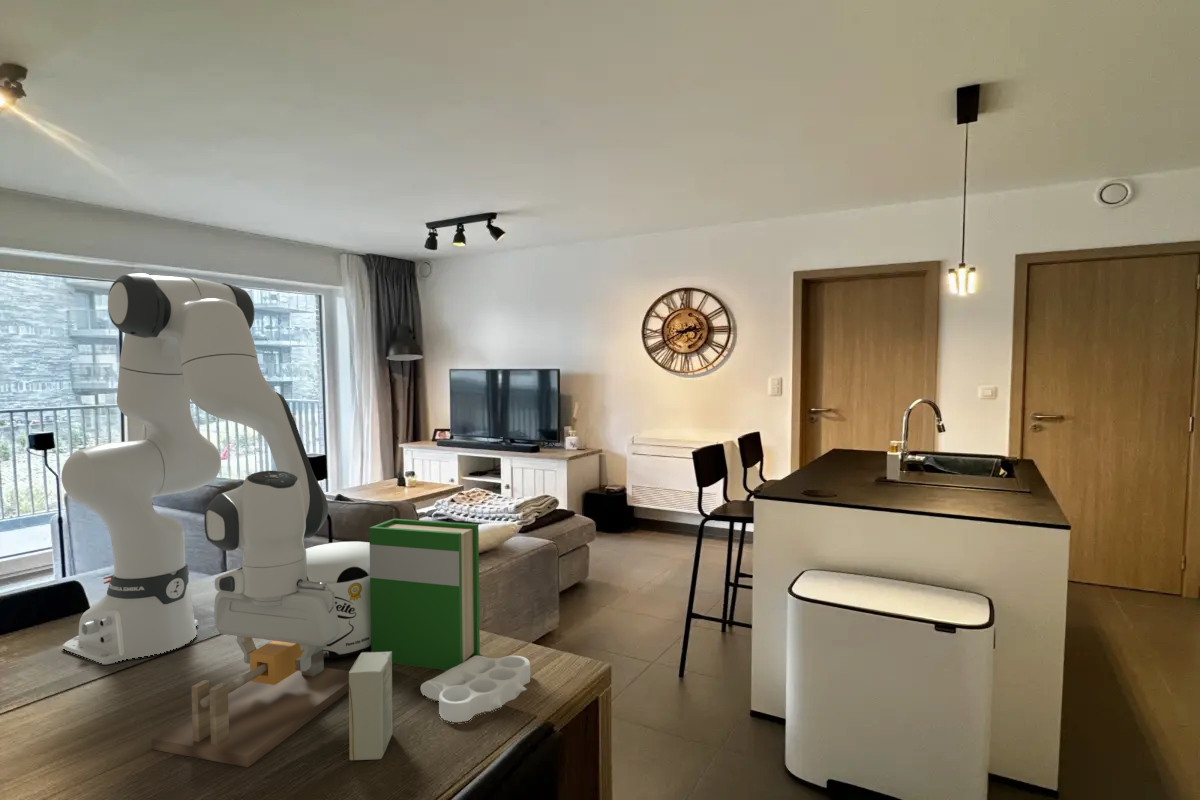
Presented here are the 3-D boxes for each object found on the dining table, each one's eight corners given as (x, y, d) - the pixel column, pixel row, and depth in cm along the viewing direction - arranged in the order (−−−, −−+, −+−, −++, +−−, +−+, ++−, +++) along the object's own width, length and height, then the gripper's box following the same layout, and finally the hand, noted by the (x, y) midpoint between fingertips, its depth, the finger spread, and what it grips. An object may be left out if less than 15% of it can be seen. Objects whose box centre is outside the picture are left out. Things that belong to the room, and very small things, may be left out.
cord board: (151, 749, 87) (149, 684, 87) (281, 670, 110) (280, 619, 110) (248, 767, 83) (246, 699, 82) (361, 681, 106) (361, 628, 106)
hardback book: (479, 654, 116) (478, 524, 115) (460, 672, 109) (458, 534, 108) (395, 643, 121) (393, 518, 120) (371, 660, 114) (369, 527, 113)
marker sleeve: (250, 681, 96) (249, 652, 96) (280, 664, 102) (279, 637, 102) (274, 685, 95) (274, 656, 95) (303, 667, 101) (302, 639, 101)
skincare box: (362, 735, 90) (360, 651, 90) (394, 733, 91) (392, 650, 90) (348, 762, 84) (346, 672, 83) (382, 760, 84) (381, 670, 84)
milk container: (300, 676, 108) (297, 572, 107) (281, 642, 122) (278, 549, 121) (401, 650, 118) (399, 554, 117) (373, 621, 132) (371, 535, 131)
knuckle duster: (484, 663, 114) (550, 684, 106) (404, 707, 98) (474, 736, 91) (484, 644, 114) (549, 664, 106) (404, 686, 98) (473, 713, 91)
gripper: (346, 576, 98) (348, 664, 99) (238, 566, 104) (240, 650, 104) (318, 590, 92) (320, 683, 93) (205, 578, 97) (207, 667, 98)
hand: (277, 665), depth 98 cm, fingers open, 8 cm apart
